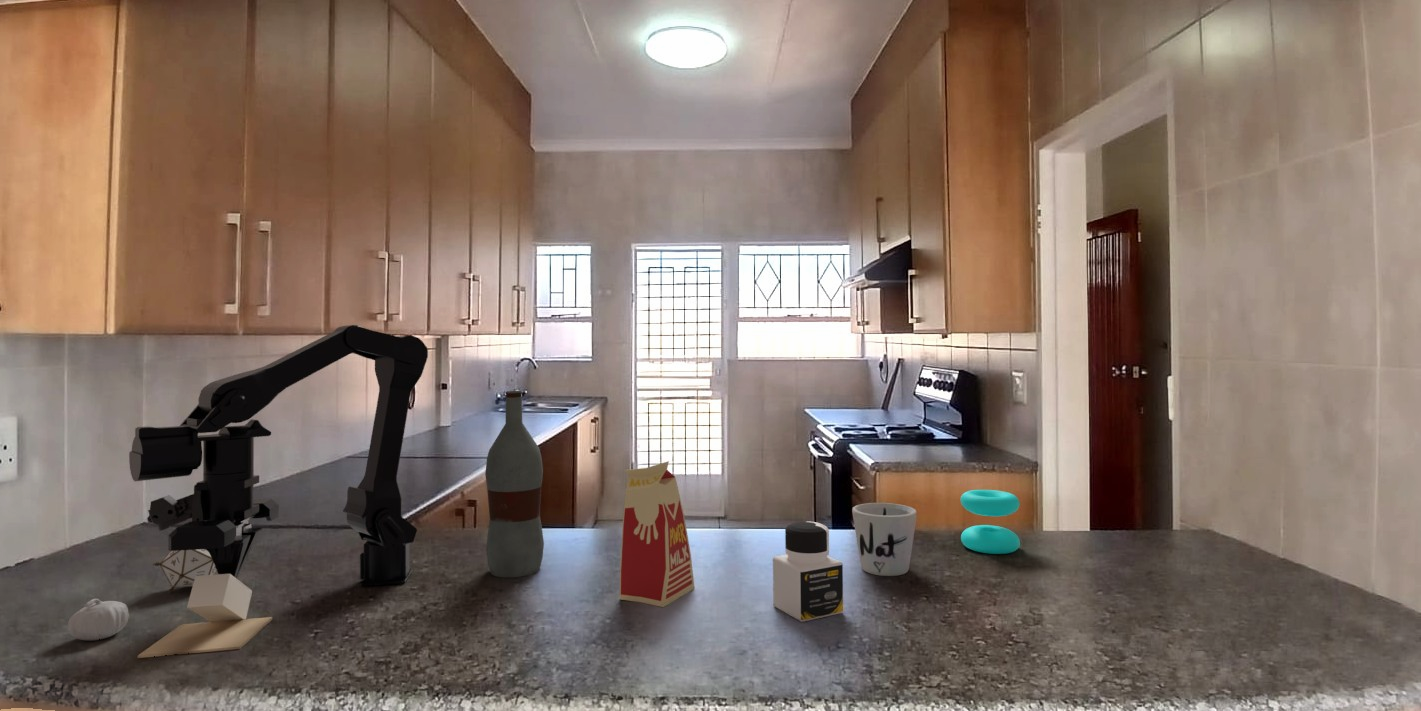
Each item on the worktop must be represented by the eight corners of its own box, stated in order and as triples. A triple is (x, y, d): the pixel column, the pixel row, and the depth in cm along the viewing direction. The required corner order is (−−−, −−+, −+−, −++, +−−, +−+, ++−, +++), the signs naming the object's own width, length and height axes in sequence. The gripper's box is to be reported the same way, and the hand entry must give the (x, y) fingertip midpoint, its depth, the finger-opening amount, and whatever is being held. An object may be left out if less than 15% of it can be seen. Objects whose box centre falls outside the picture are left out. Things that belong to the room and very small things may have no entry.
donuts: (1012, 501, 120) (953, 495, 126) (1012, 559, 120) (954, 550, 126) (1024, 491, 128) (969, 486, 134) (1025, 546, 128) (969, 538, 134)
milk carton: (694, 587, 107) (693, 457, 107) (665, 608, 99) (664, 466, 99) (643, 580, 111) (641, 454, 111) (611, 599, 103) (609, 463, 103)
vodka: (541, 559, 123) (540, 389, 123) (546, 575, 114) (544, 391, 114) (485, 565, 120) (484, 390, 120) (486, 581, 111) (484, 393, 111)
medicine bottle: (801, 623, 93) (800, 533, 93) (772, 606, 99) (771, 521, 99) (844, 613, 96) (843, 526, 96) (813, 597, 102) (812, 516, 102)
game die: (194, 615, 108) (178, 575, 102) (152, 592, 109) (133, 552, 104) (245, 572, 115) (232, 533, 109) (205, 551, 117) (190, 511, 111)
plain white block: (252, 590, 98) (230, 573, 91) (245, 620, 96) (222, 604, 89) (220, 592, 97) (195, 575, 91) (212, 623, 95) (186, 607, 88)
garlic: (78, 650, 86) (77, 608, 86) (62, 641, 89) (62, 600, 89) (137, 633, 92) (137, 594, 92) (121, 625, 94) (120, 587, 94)
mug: (847, 575, 112) (846, 513, 112) (863, 550, 126) (862, 495, 126) (914, 582, 109) (913, 518, 109) (923, 556, 122) (922, 499, 122)
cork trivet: (272, 619, 96) (272, 616, 96) (240, 648, 86) (240, 646, 86) (181, 626, 94) (181, 624, 94) (137, 658, 84) (137, 655, 84)
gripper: (196, 464, 103) (196, 569, 103) (119, 485, 85) (118, 614, 85) (280, 461, 105) (279, 564, 105) (222, 481, 87) (222, 607, 87)
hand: (228, 585), depth 96 cm, fingers closed
